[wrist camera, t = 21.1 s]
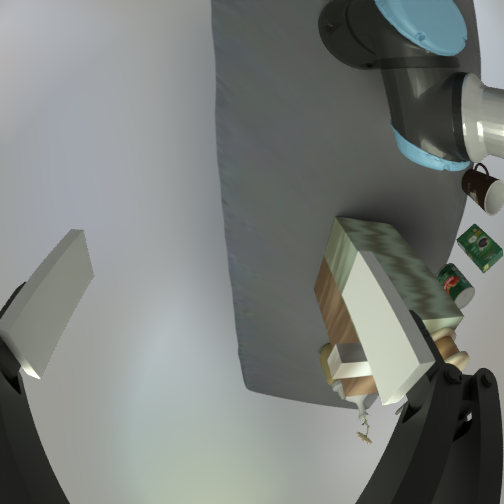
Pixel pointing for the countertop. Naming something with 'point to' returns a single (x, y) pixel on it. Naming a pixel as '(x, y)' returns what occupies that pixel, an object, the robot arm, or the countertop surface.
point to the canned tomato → (456, 285)
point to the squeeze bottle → (334, 383)
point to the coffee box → (480, 247)
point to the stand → (399, 272)
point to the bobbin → (356, 364)
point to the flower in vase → (361, 413)
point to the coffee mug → (484, 190)
